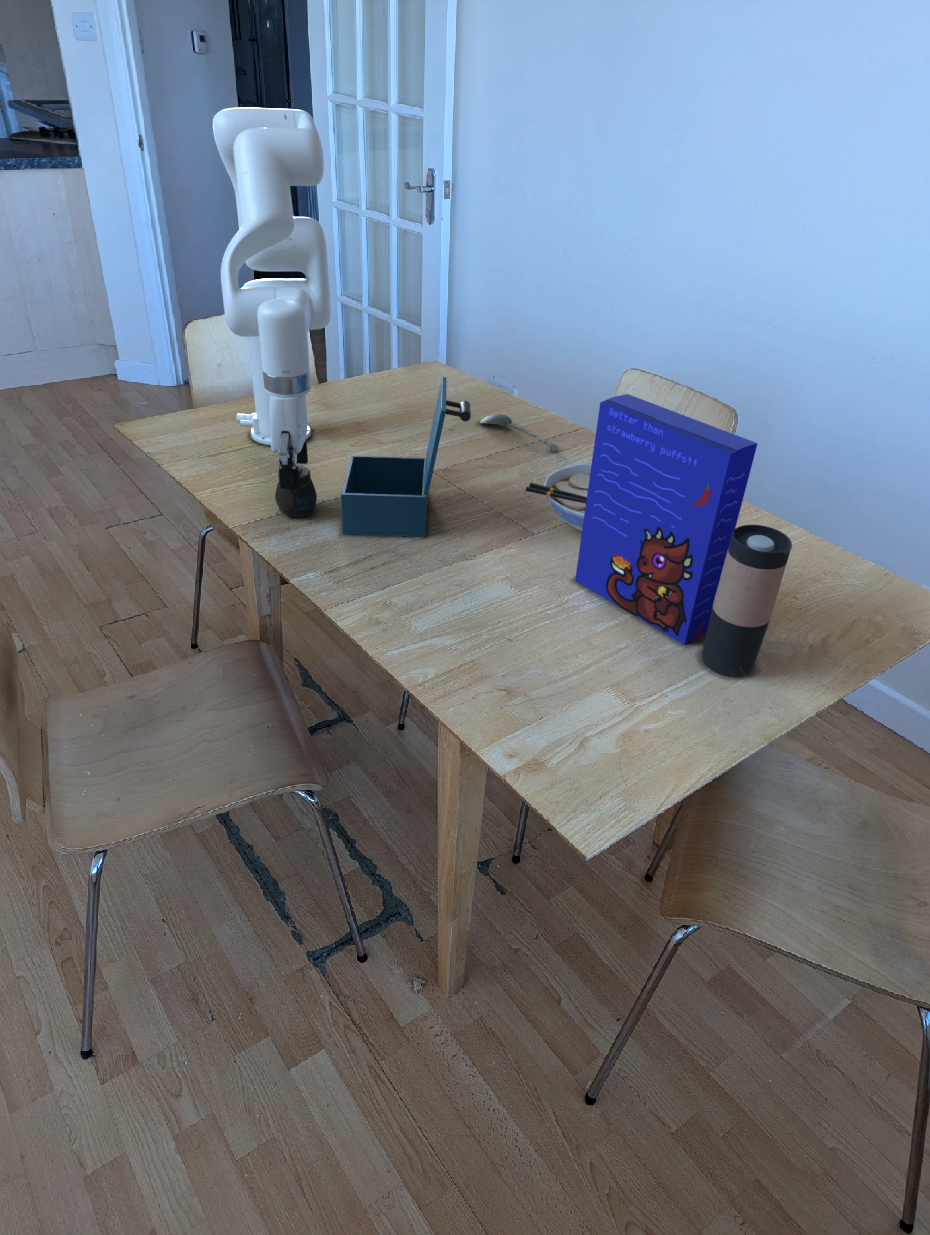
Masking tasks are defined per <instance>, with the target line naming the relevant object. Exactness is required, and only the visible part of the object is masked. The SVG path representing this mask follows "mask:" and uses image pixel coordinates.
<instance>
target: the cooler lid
mask: <svg viewBox="0 0 930 1235" xmlns="http://www.w3.org/2000/svg"><path fill="white" fill-rule="evenodd" d="M447 380H448V378H447V377H446V376H442V377H441V381H440V385H439V390H438V394H437V395H438V396H437V398H436V399H437V400H436V404H435V409H434V415H433V419H432V424H431V429H430V434H429V439H428V444H427V448H426V454H425V458H426V463H425V478H424V493H423V494H425V495H427V496H429V493H430V488H431V483H432V479H433V473H434V470H435V466H436V461H437V456H438V451H439V445H440V442H441V436H442V432H443V427H444V423H445V419H446V415H448V416H454V417H458V418H460V420H461V421H462V422H468V421H470V420H471V417H472V414H471V413H472V412H471V403H470V402H469V401H468V400H463V401H461V402H457V401H453V400H447V383H448V382H447ZM447 407H452V408H457V409H459V410H454V409H449V408H447Z"/></svg>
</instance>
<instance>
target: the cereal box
mask: <svg viewBox="0 0 930 1235" xmlns="http://www.w3.org/2000/svg"><path fill="white" fill-rule="evenodd" d="M757 447H758V442H756V441H753V440H751V439H748V438H745V437H743V436H739V435H738V434H735V433H732V432H729V431H726V430H724V429H722V428H718V427H716V426H713V425H711V424H708V423H705V422H702V421H700V420H697V419H695V418H693V417H690V416H686V415H684V414H682V413H679V412H676V411H675V410H674V411H673V410H671V409H669V408H666V407H664V406H661V405H658V404H655V403H653V402H650V401H647V400H644V399H642V398H639V397H638V396H634V395H632V394H629V393H627V394H621V395H616V396H612V397H609V398H606V399H605V400H603V401H600V402H599V408H598V415H597V423H596V431H595V436H594V444H593V451H592V458H591V463H590V464H591V471H590V479H589V486H588V493H587V500H586V507H585V514H584V521H583V528H582V531H581V536H580V543H579V550H578V557H577V564H576V571H575V572H576V573H575V578H574V580H575V582H577V583H578V584H580V585H582V586H584V587H585V588H587V589H589V590H590V591H592V592H594V593H596V594H597V595H599V596H601V597H602V598H604V599H605V600H608V601H609V602H610V603H613V604H614V605H616V606H618V607H619V608H621V609H622V610H624V611H626V612H627V613H629V614H631V615H632V616H633V615H634V617H636V618H638V619H640V620H641V621H643V622H645V623H646V624H648V625H650V626H651V627H653V628H655V629H657V630H658V631H660V632H662V633H663V634H665V635H666V636H669V637H670V638H672V639H674V640H675V641H677V642H679V643H681V644H682V645H686V644H688V643H691V642H692V641H693V640H695V639H697V638H699V637H701V636H702V635H703V634H705V633H707V630H708V626H709V621H710V616H711V612H712V607H713V603H714V599H715V596H716V592H717V588H718V584H719V581H720V577H721V573H722V570H723V566H724V562H725V558H726V555H727V551H728V547H729V544H730V540H731V536H732V533H733V531H734V530H735V529H736V528H737V524H738V520H739V516H740V512H741V508H742V504H743V501H744V497H745V493H746V490H747V485H748V481H749V477H750V474H751V470H752V466H753V462H754V458H755V455H756V452H757Z"/></svg>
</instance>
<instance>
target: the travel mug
mask: <svg viewBox="0 0 930 1235" xmlns="http://www.w3.org/2000/svg"><path fill="white" fill-rule="evenodd" d="M792 547H793V541H792V540H791V538H790V537H789V536H788V535H787V534H785V533H784V532H782V531H780V530H778V529H776V528H773V527H770V526H767V525H761V524H744V525H740V526H738V527H737V526H736V528H735V530H734V531H733V533H732V536H731V540H730V544H729V547H728V551H727V555H726V558H725V562H724V566H723V570H722V573H721V577H720V581H719V584H718V588H717V592H716V596H715V599H714V603H713V607H712V612H711V616H710V621H709V626H708V630H707V632H706V636H705V640H704V645H703V650H702V655H701V656H702V657H701V658H702V661H703V663H704V664H705V666H706V667H707V668H709V669H710V670H711V671H713V672H715V673H716V674H718V675H722V676H726V677H734V678H736V677H743V676H747V675H748V674H750V673H751V672H752V671H753V668H754V666H755V663H756V662H757V658H758V656H759V652H760V651H761V647H762V644H763V642H764V638H765V635H766V633H767V629H768V628H769V624H770V621H771V618H772V615H773V611H774V608H775V605H776V601H777V599H778V598H777V597H778V594H779V591H780V588H781V584H782V581H783V578H784V574H785V570H786V567H787V564H788V560H789V558H790V554H791V551H792V549H793V548H792Z"/></svg>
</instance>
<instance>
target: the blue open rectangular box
mask: <svg viewBox="0 0 930 1235" xmlns="http://www.w3.org/2000/svg"><path fill="white" fill-rule="evenodd" d="M425 463H426V457H417V456H416V457H415V456H414V457H412V456H385V455H383V456H382V455H355V454H351V455H350V458H349V462H348V466H347V470H346V474H345V477H344V481H343V485H342V489H341V494H340V501H341V502H340V503H341V521H342V522H341V523H342V524H341V525H342V534H343V535H359V536H361V535H362V536H390V537H391V536H392V537H421V538H423V537H424V538H425V537H426V525H427V506H428V495H425V494H423V493H424V478H425Z"/></svg>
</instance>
